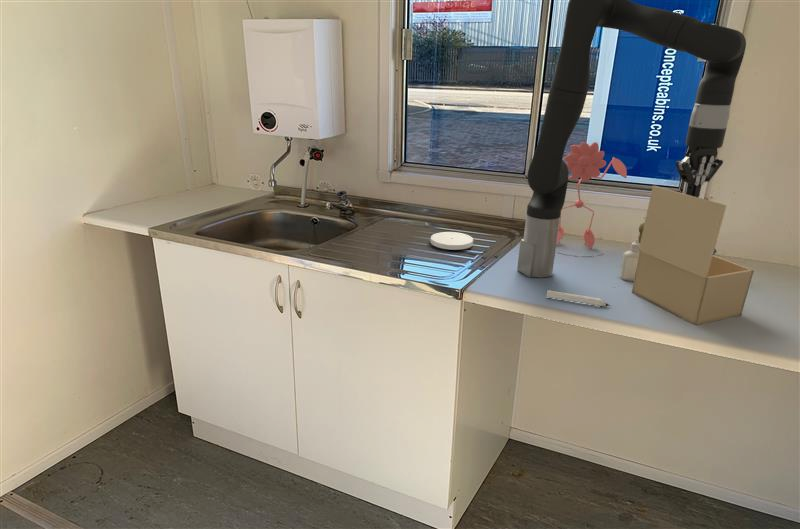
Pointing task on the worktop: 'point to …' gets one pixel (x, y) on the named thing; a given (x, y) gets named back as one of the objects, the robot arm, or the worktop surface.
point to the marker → (576, 298)
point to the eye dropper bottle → (630, 262)
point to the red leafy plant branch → (587, 176)
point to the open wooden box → (693, 288)
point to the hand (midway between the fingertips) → (691, 199)
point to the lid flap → (682, 229)
